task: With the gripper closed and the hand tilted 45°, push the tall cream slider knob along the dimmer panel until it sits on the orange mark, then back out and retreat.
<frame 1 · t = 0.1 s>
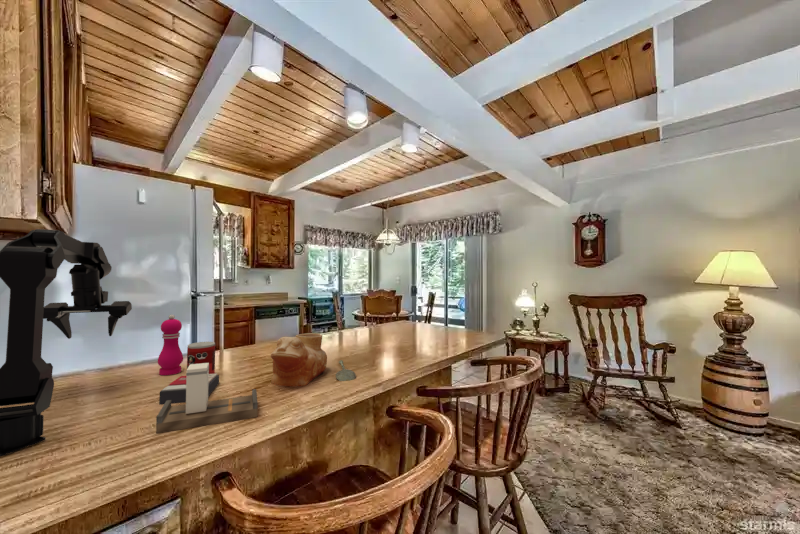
hand: (90, 336, 97), 15 cm above the kitchen counter, tool pointing down, fingers open, 9 cm apart
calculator: (191, 394, 95), on the kitchen counter
dimmer panel: (211, 415, 80), on the kitchen counter
slider knob: (197, 387, 79), point 7 cm above the kitchen counter, slide at 0.0 cm
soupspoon: (343, 373, 117), on the kitchen counter
ceramic vessel: (299, 378, 110), on the kitchen counter
pepper mill: (170, 373, 114), on the kitchen counter
canned food: (200, 377, 109), on the kitchen counter
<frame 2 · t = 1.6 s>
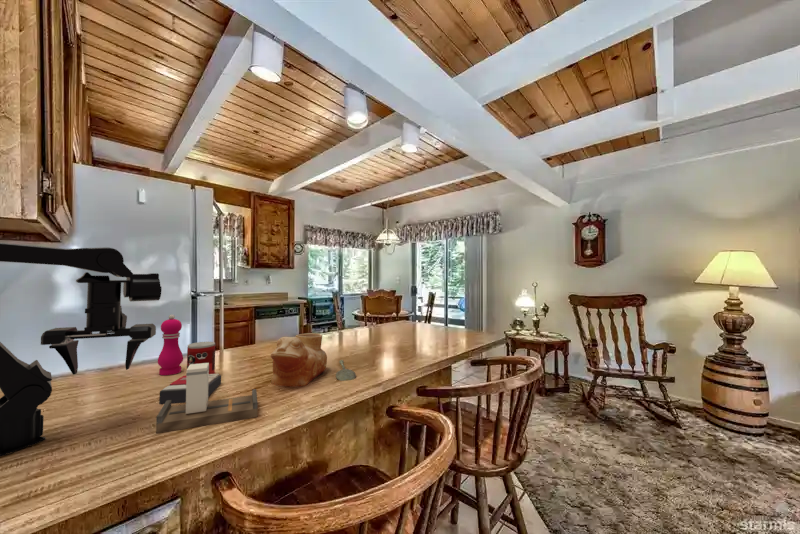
hand: (102, 371, 75), 12 cm above the kitchen counter, tool pointing down, fingers open, 9 cm apart
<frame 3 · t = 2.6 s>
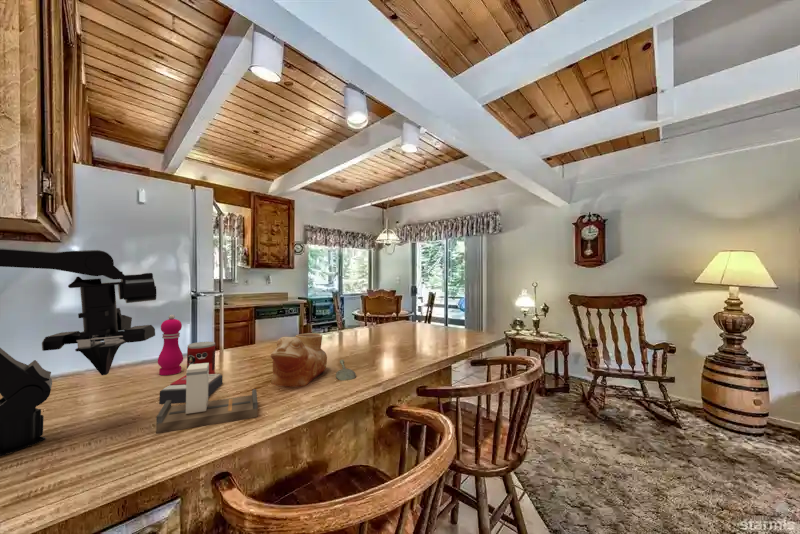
hand: (105, 374, 75), 11 cm above the kitchen counter, tool pointing down, fingers closed
nothing on the kitchen counter moved.
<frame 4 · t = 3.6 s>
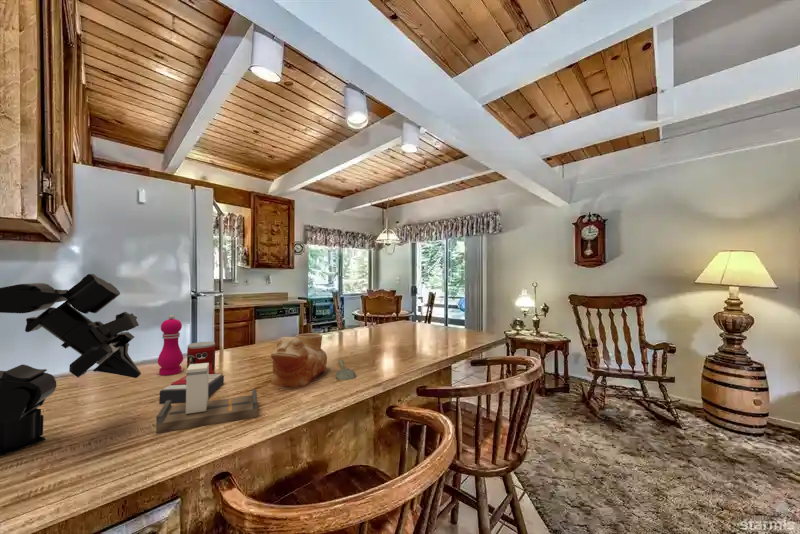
hand: (138, 375, 74), 11 cm above the kitchen counter, tool tilted 45°, fingers closed
nothing on the kitchen counter moved.
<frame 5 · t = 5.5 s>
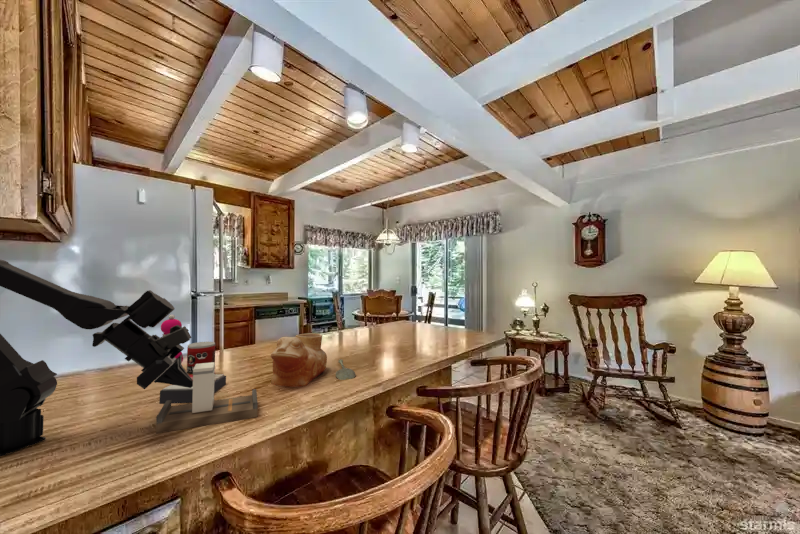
hand: (192, 385, 78), 8 cm above the kitchen counter, tool tilted 45°, fingers closed, pressing on slider knob
slider knob: (203, 386, 79), point 7 cm above the kitchen counter, slide at 1.3 cm, touching gripper
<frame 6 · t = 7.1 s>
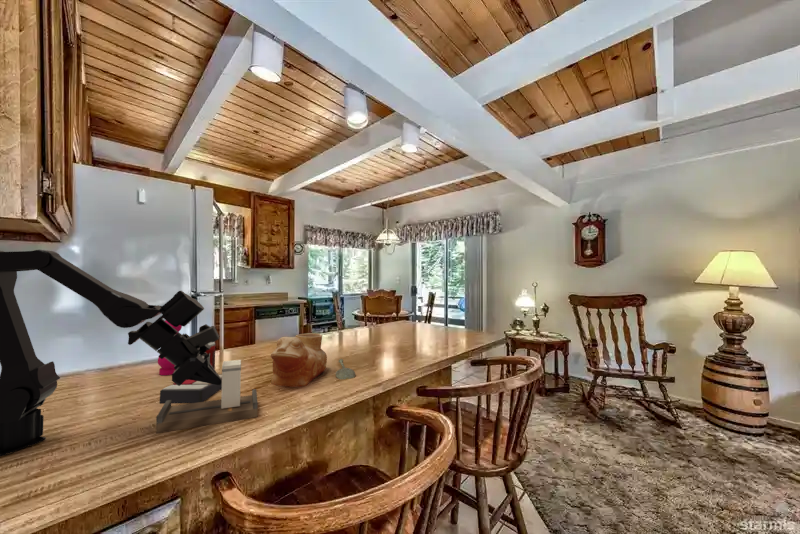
hand: (221, 383, 81), 8 cm above the kitchen counter, tool tilted 45°, fingers closed, pressing on slider knob
slider knob: (231, 383, 82), point 7 cm above the kitchen counter, slide at 7.2 cm, touching gripper
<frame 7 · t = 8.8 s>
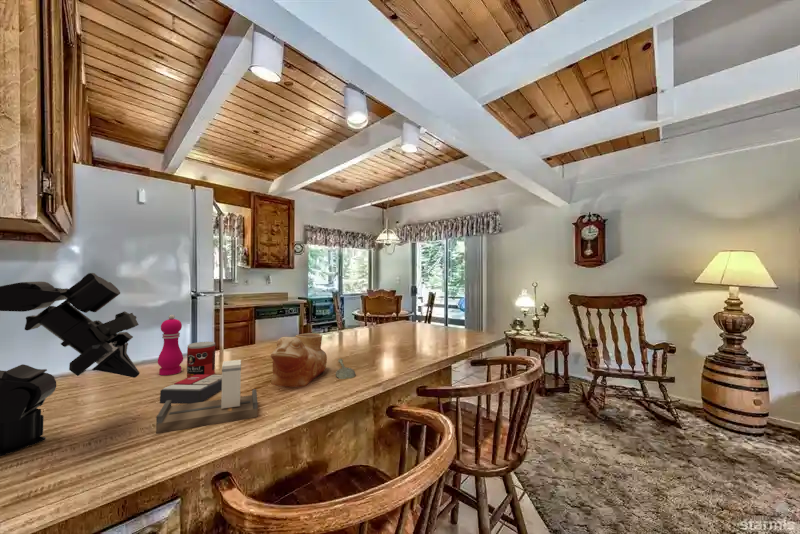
hand: (137, 375, 74), 11 cm above the kitchen counter, tool tilted 45°, fingers closed
slider knob: (231, 383, 82), point 7 cm above the kitchen counter, slide at 7.2 cm
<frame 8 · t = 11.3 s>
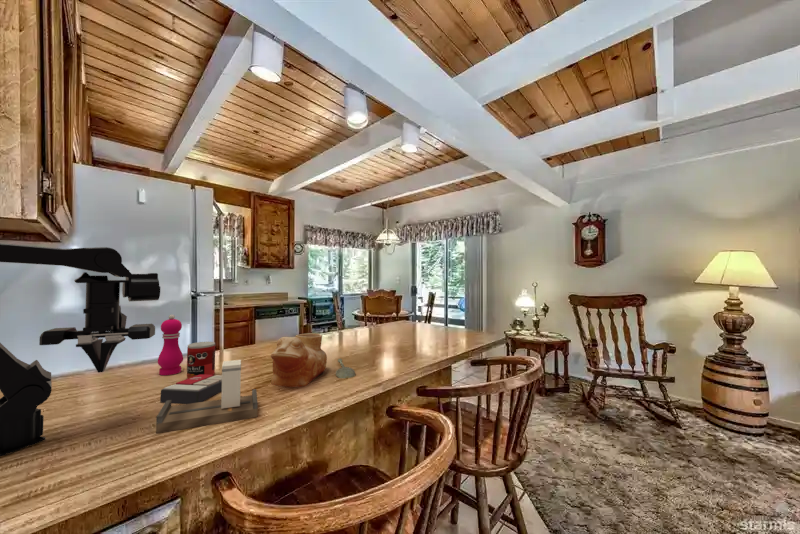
hand: (101, 371, 75), 12 cm above the kitchen counter, tool pointing down, fingers closed
at the end: slider knob slide at 7.2 cm; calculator moved 2.5 cm from its start; pepper mill moved 0.2 cm from its start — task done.
